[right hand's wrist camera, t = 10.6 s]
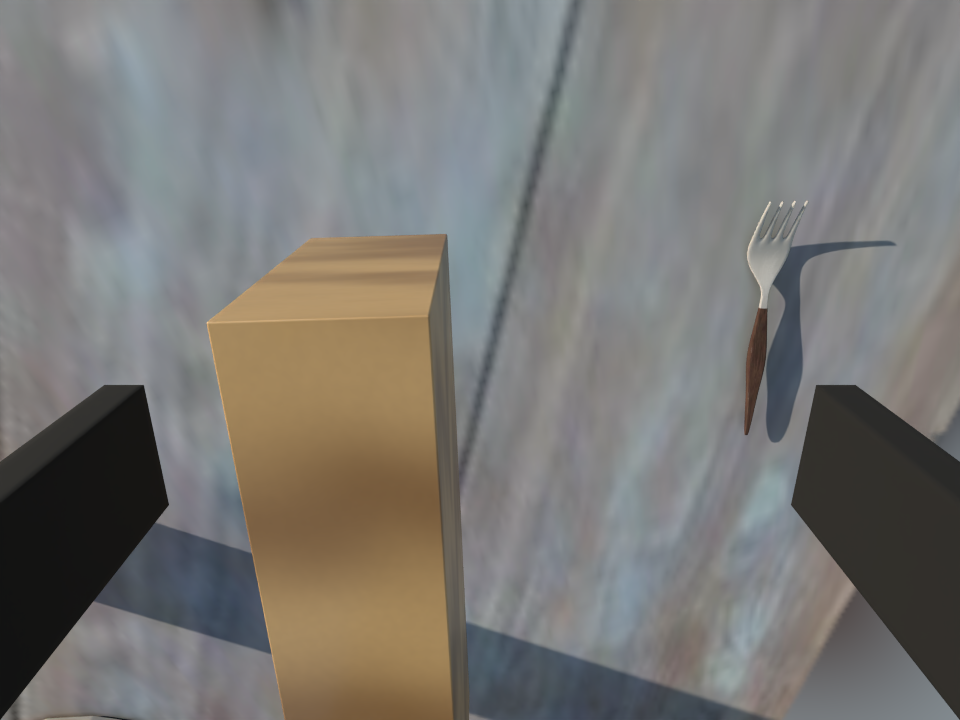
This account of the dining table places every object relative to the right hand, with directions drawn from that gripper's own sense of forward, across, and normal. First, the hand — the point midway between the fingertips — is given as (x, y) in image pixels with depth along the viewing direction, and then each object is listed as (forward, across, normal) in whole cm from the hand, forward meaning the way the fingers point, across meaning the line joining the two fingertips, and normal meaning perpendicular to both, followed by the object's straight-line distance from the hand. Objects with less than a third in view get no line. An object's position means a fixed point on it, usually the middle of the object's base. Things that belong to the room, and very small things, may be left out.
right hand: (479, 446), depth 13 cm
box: (+16, -4, -12) cm, 21 cm away
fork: (+28, +18, -7) cm, 34 cm away
